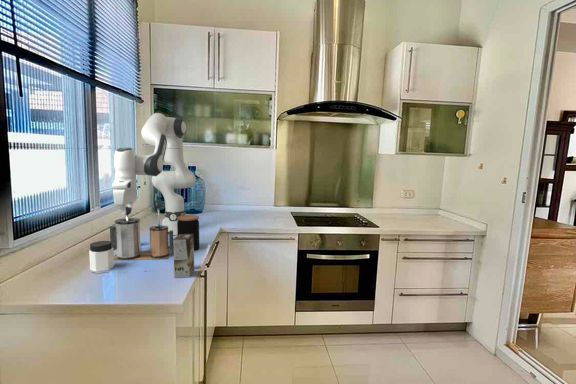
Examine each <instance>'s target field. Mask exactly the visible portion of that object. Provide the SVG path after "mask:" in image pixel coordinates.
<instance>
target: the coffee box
mask: <svg viewBox="0 0 576 384" xmlns="http://www.w3.org/2000/svg"><path fill="white" fill-rule="evenodd" d="M173 250H174V251H173V277H174V278H190V277H191V276H192V274H193V272H194V271H195V251H194V234H179V235H176V236H175V237H173Z"/></svg>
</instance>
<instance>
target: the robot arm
mask: <svg viewBox="0 0 576 384" xmlns="http://www.w3.org/2000/svg"><path fill="white" fill-rule="evenodd" d="M186 132H187V124H186V121H185V120H184V119H183V118H180V117H169V116H166V115H165V114H163V113H160V112H155V113H154V112H153V114H151V115H150V117H148V119H147V120H146V121H145V122H144V124H143V126H142V128H141V131H140V135H141V137H142V139H143V141H144V142H145V143H146V144H148V145H149V146H153V147H154V151H153V153H151V154H146V155H145V154H142V155H141V154H137V153H135V151H134V148H132V147H120V148H117V149H115V151H114V157H113V158H114V159H113V166H114V170H115V171H114V172H115V173H114V181H113V182H112V184H111V189H112V190H113V191H112V192H113V193H112V194H113V203H114V205H115V206H116V207H119V208H120V211H121V213H120V214H121V215H125V214H126V213H127V210H126V208H125V207H130V208H131V212H132V211H133V205H134V202H135V201H137V198H138V196H137V195H138V193H137V192H138V191H137V176H149V177H151V184H152V186H153V187H154V188H155V189H157V190H158V191H159V192H160V193H161V194H162V196H163V198H164V199H163V200H164V205H165V207H164V208H165V211H164V218H163V219H162V223H161V224H162V225H161V226H168V232H169V231H170V230H173V236H178V234H177V222H178V219H177V217H178V216H182V215H186V210H185V199H184V197H183V196H182V195H180V194H178V193H176V192H175V191H174V189H175V190H176V189H188V188H189V189H190V188H192V187H194V186H195V184H196V181H197V178H196V175H195V174H194V173H193V171H191V170H190V169H189V168H188V167H187V165H186V163H185V160H184V145H183V143H184V142H183V136H184V135H185V134H186ZM164 162H165V163H166V164H167V165H169V166H171V167H174V168H175V169H174V170H163V169H164ZM168 236H169V234H168Z"/></svg>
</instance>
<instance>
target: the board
mask: <svg viewBox="0 0 576 384" xmlns="http://www.w3.org/2000/svg"><path fill="white" fill-rule="evenodd" d="M173 253H174V249H173V250H170V249H169V255H168V256H167V257H163V258H152V257H151V254H150V250H141V253H140V257H138V258H135V259H129V260H120V259H117V253H116V254H114V262H116V261H117V262H119V261H121V262H122V261H125V262H126V261H150V260H151V261H153V260H154V261H159V260H168V259H169V258H170V257H171V255H172V254H173Z"/></svg>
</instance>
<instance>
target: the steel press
mask: <svg viewBox="0 0 576 384" xmlns="http://www.w3.org/2000/svg"><path fill="white" fill-rule="evenodd" d="M109 235H110V236H109V238H110V240H109V241H111V242H112V248H113V251H115V253H116V254H117V259H120V260H128V261H130V260H129V259H135V258H138V257H140V253H141V251H142V250H141V249H142V248H141V223H140V218H137V217H128V221H126V217H125V218H119V219H116V220H114V225H111V226H110V227H109Z"/></svg>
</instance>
